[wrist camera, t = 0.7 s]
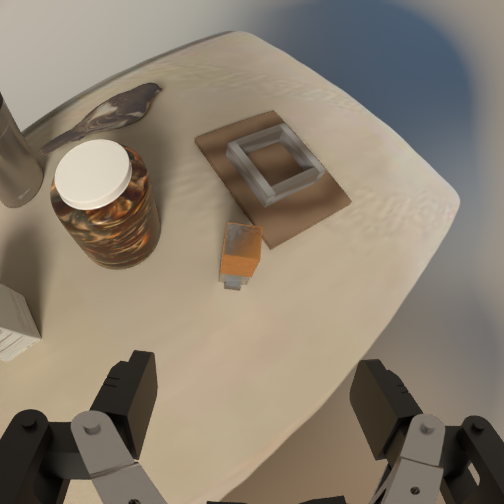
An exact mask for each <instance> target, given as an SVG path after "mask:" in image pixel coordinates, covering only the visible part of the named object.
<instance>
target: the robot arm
mask: <svg viewBox="0 0 504 504" xmlns="http://www.w3.org/2000/svg"><path fill="white" fill-rule="evenodd" d="M42 180H43V171H42V168H41V167H40V165H39V163H38V162H37V160H36V158H35V157H34V155H33V153H32V151H31V149H30V148H29V146H28V144H27V142H26V141H25V139H24V137H23V135H22V133H21V132H20V130H19V128H18V126H17V124H16V122H15V121H14V118H13V117H12V115H11V113H10V111H9V109H8V107H7V105H6V103H5V101H4V99H3V97H2V95H1V93H0V200H1V201H2V202H3V203H4V205H6V206H7V207H10V208H16V207H20V206H22V205H24V204H26V203H27V202H28V201H30V200H31V199H32V198H33V197H34V196H35V194H36V193H37V192H38V190H39V188H40V186H41V183H42ZM157 388H158V385H157V374H156V364H155V355H154V353H153V352H146V351H138V350H134V352H133V353H132V355H131V357H130V360H129V362H125V361H120V362H119V363H117V364H116V365H115V366H113V367H112V368H111V370H110V372H109V374H108V376H107V378H106V379H105V381H104V383H103V385H102V387H101V389H100V391H99V393H98V394H97V396H96V398H95V400H94V402H93V404H92V406H91V408H90V410H89V411H85V412H82V413H80V414H78V415H76V416H75V417H74V419H73V420H72V422H48V420H47V417H46V416H45V415H44V414H43V413H42V412H40V411H38V410H33V409H28V410H24V411H21V412H19V413H18V414H16V415H15V416H14V418H13V419H12V421H11V422H10V424H9V426H8V427H7V429H6V431H5V432H4V434H3V436H2V438H1V439H0V504H63V502H64V499H65V496H66V493H67V489H68V486H69V483H70V480H71V479H80V480H92V482H93V484H94V486H95V488H96V490H97V492H98V494H99V496H100V498H101V500H102V502H103V504H167V502H166V501H165V500H164V498H163V497H162V495H161V494H160V493H159V491H158V490H157V488H156V487H155V486H154V484H153V483H152V481H151V480H150V478H149V477H148V475H147V474H146V472H145V471H144V469H143V468H142V466H141V465H140V464H139V463H138V462H135V461H134V459H136V460H139V457H140V453H141V450H142V446H143V442H144V439H145V435H146V432H147V428H148V425H149V421H150V418H151V414H152V411H153V408H154V404H155V401H156V397H157ZM350 402H351V405H352V407H353V409H354V412H355V414H356V416H357V419H358V421H359V423H360V425H361V428H362V430H363V432H364V435H365V437H366V439H367V442H368V444H369V446H370V449H371V451H372V453H373V456H374V458H375V460H381V459H386V458H387V461H388V463H387V465H386V467H385V469H384V471H383V474H382V476H381V478H380V481H379V483H378V485H377V487H376V489H375V491H374V494H373V496H372V498H371V500H370V501H369V503H368V504H435V503H436V500H437V496H438V492H439V489H440V491H441V494H442V496H443V498H444V500H445V503H446V504H504V442H503V441H502V439H501V438H500V437H499V435H498V434H497V432H496V431H495V430H494V428H493V427H492V426H491V424H490V423H489V422H488V421H487V420H486V419H484V418H482V417H480V416H469V417H467V418H466V419H465V420H464V421H463V423H462V425H461V426H445V425H444V423H443V422H442V421H441V420H440V419H439V418H438V417H436V416H434V415H431V414H424V413H423V412H422V410H421V409H420V407H419V406H418V404H417V403H416V402H415V400H414V398H413V397H412V395H411V394H410V393H408V390H407V388H406V387H405V386H404V384H403V382H402V381H401V379H400V378H399V377H398V376H397V375H396V374H394V373H393V372H392V371H390V370H386V369H385V367H384V366H383V364H382V363H381V361H380V360H379V359H371V360H361V361H360V362H359V363H358V366H357V370H356V373H355V376H354V380H353V383H352V386H351V389H350ZM471 463H473V465H474V467H475V469H476V471H477V472H478V474H479V477H480V483H479V485H477V484H476V482H475V480H474V478H473V476H472V474H471V473H470V471H469V469H468V467H469V465H470V464H471ZM207 504H246V503H234V502H232V503H231V502H212V501H207ZM300 504H346V502H345V498H344V496H337V497H330V498H322V499H313V500H309V501H306V502H303V503H300Z"/></svg>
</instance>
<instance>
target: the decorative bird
mask: <svg viewBox="0 0 504 504" xmlns="http://www.w3.org/2000/svg"><path fill="white" fill-rule="evenodd" d="M161 90H162V89H161V88H159V86H158V85H157V84H155V83H147V84H143V85H140V86H138V87H136V88H134V89H132V90H130V91H127V92H124V93H121V94H118V95H116V96H114V97H112V98H110V99H108V100H107V101H105V102H104V103H102V104H100V105H99V106H97V107H96V108H95V109H93V110H92V111H91V112H90V113H89V114H88V115H87V116H86V117H85V118H84V119H83V120H82V121H81V122H80V123H79V124H77V125H76V126H75V127H74V128H73V129H71V130H69V131H67V132H65V133H63V134H61V135H60V136H58V137H56V138H55V139H53V140H51V141H50V142H49V143H47V144H46V145H45V146H44V147H42V148H41V150H40V152H41V154H42V155H44V156H45V155H48V154H49V153H50V152H52V151H54V150H55V149H57V148H59V147H60V146H62V145H64V144H66V143H67V142H69V141H76V140H80V139H82V138H83V137H84V136H85V135H87V134H91V133H100V132H103V131H108V130H112V129H117V128H120V127H123V126H126V125H128V124H131V123H133V122H136V121H137V120H139V119H140V118H141V117H142V116H143V115H144V114H145V113H146V112H147V109H148V107H149V105H150V103H151V101H152V100H153V98H154V97H155V95H157V94H158V92H159V91H161Z"/></svg>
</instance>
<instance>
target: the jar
mask: <svg viewBox="0 0 504 504" xmlns="http://www.w3.org/2000/svg"><path fill="white" fill-rule="evenodd" d="M50 194H51V203H52V207H53V209H54V211H55V213H56V215H57V217H58V218H59V220H60V221H61V223H62V224H63V226H64V227H65V228H66V230H67V231H68V232H69V234H70V235H71V236H72V237H73V239H74V240H75V241H76V242H77V244H78V245H79V246H80V247H81V248H82V250H83V251H84V252H85V253H86V254H87V255H88V257H89V258H90V259H91V260H93V261H94V262H95V263H97V264H98V265H100V266H102V267H105V268H109V269H126V268H130V267H133V266H135V265H137V264H139V263H141V262H142V261H144V260H145V259H146V258H147V257H148V256H149V255H150V254H151V253H152V252H153V251H154V249H155V247H156V246H157V243H158V241H159V237H160V221H159V216H158V211H157V207H156V202H155V198H154V194H153V189H152V185H151V181H150V177H149V174H148V171H147V168H146V166H145V164H144V162H143V160H142V159H141V157H140V156H139V155H138V154H137V153H136V152H134V151H133V150H132V149H130V148H128V147H126V146H123V145H120V144H118V143H116V142H114V141H111V140H106V139H97V140H91V141H87V142H84V143H82V144H80V145H78V146H76V147H74V148H73V149H71V150H70V151H69V152H68V153H67V154H66V155H65V156H64V157H63V158H62V160H61V161H60V163H59V164H58V167H57V169H56V172H55V176H54V179H53V181H52V185H51V193H50Z"/></svg>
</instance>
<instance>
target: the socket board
mask: <svg viewBox="0 0 504 504" xmlns="http://www.w3.org/2000/svg"><path fill="white" fill-rule="evenodd" d="M195 143H196V145H197V146H198V148H199V149H200V150H201V152H202V153H203V155H204V156H205V157H206V159H207V160H208V162H209V163H210V164H211V166H212V167H213V169H214V170H215V171H216V173H217V174H218V176H219V177H220V179H221V180H222V181H223V183H224V184H225V186H226V187H227V188H228V190H229V191H230V193H231V194H232V196H233V197H234V198H235V200H236V201H237V203H238V204H239V206H240V207H241V208H242V210H243V211H244V213H245V214H246V216H247V217H248V218H249V220H250V221H251V223H252V224H253V226H260V227H262V239H263V240H264V241H265V243H266V244H267V246H268V247H269V249H270V250H271V249H273V248H275V247H276V246H278V245H280V244H282V243H283V242H285V241H287V240H289V239H290V238H292V237H294V236H296V235H297V234H299V233H301V232H303V231H304V230H306V229H308V228H310V227H311V226H313V225H315V224H316V223H318V222H320V221H322V220H323V219H325V218H327V217H329V216H330V215H332V214H334V213H336V212H337V211H339V210H341V209H343V208H344V207H346V206H348V205H349V204H350V203H351V202H352V201H351V200H350V198H349V197H348V196H347V195H346V193H345V192H344V191H343V190H342V188H341V187H340V186H339V185H338V183H337V182H336V181H335V180H334V178H333V177H332V176H331V175H330V174H329V172H328V171H327V170H326V169H325V168H324V166H323V165H322V164H321V163H320V162H319V160H318V159H317V158H316V157H315V156H314V155H313V153H312V152H311V151H310V150H309V149H308V148H307V146H306V145H305V144H304V143H303V142H302V141H301V140H300V139H299V137H298V136H297V135H296V134H295V133H294V132H293V131H292V130H291V129H290V127H289V126H288V125H287V124H286V123H285V122H284V121H283V120H282V119H281V118H280V117H279V116H278V114H277V113H276V112H275V111H271V112H267V113H264V114H261V115H258V116H255V117H252V118H249V119H246V120H243V121H240V122H237V123H235V124H232V125H229V126H226V127H223V128H221V129H218V130H215V131H213V132H210V133H207V134H205V135H202V136H200V137H197V138H195Z"/></svg>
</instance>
